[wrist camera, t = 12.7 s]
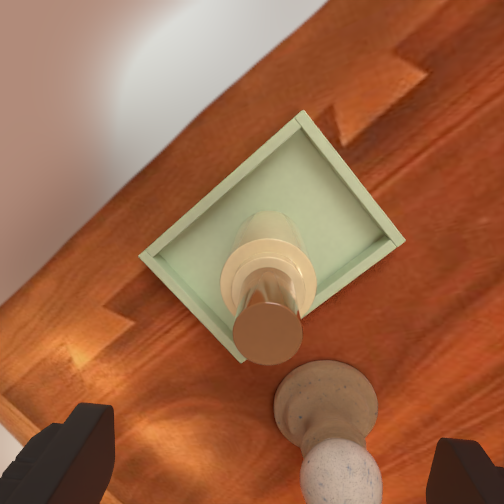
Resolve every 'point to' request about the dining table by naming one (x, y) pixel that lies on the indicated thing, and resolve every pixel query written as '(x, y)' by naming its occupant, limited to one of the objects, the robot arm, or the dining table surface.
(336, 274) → the tray
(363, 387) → the candle holder
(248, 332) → the stoneware bottle
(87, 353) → the dining table surface
